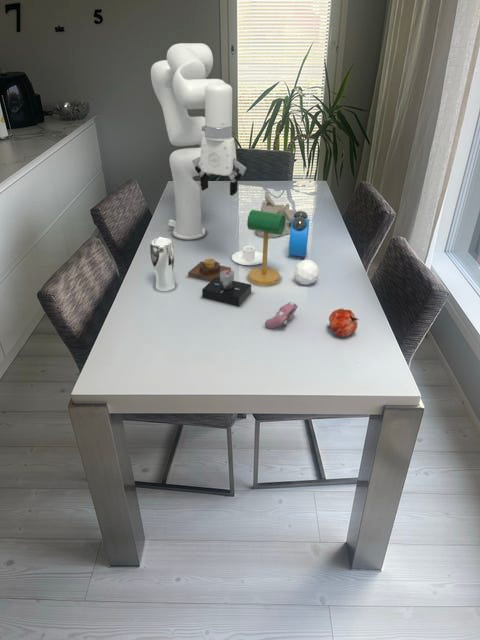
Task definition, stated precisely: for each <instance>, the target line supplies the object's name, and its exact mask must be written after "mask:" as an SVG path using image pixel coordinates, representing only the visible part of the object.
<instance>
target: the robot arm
mask: <svg viewBox="0 0 480 640" xmlns="http://www.w3.org/2000/svg"><path fill="white" fill-rule="evenodd" d="M213 65H214V56H213V52H212V49H211V48H210V47H209V46H208V45H207V44H205V43H201V42H197V43H196V42H194V43H193V42H192V43H190V42H187V43H186V42H180V43H175V44H173V45H171V46H170V47H169V48H168V50H167V52H166V59H162V60H158V61H156V62H154V63H153V64H152V65H151V68H150V81H151V85H152V89H153V91H154V93H155V94H154V95H155V96H156V98H157V100H158V102H159V104H160V106H161V110H162V113H163V119H164V122H165V123H164V124H165V128H166V132H167V137H168V140H169V142H170V144H171V145H172V146H175V147H187V148H180V149H176V150H174V151H172V153H170V155H169V159H168V160H169V167H170V172H171V176H172V177H171V178H172V182H173V183H172V184H173V194H174V209H175V219H169V220H168V227H169V228H170V227H171V228H173V230H172V235H173V236H174V237H175V238H177V239H179V240H184V241H185V240H186V241H191V240H198V239H201V238H203V237H205V235H206V232H207V231H206V229H205V228H204V227H203V226H202V206H201V205H202V204H201V191H205V190H206V189H208V188H209V175H216V176H222V177H228V178H229V179H230V182H229V195H230V196H234V195H236V194H237V192H238V185H239V184H238V181H239V180H240V179H241V178H242V177H243V176H244V174H245V172H246V171H247V167H246V166H245V165H244V164H242V163H241V162H240V161H238V159H237V149H236V142H235V138H234V137H233V87H232V86H231V85H230V84H229V83H226V82H225V81H224V80H222V79H220V78H207V77H208V76H209V75H210V74H211V71H212V69H213ZM202 109H203V110H204V116H202V115H201V116H200V115H198V116H190V114H189V113H188V110H202ZM191 146H199V147H191ZM188 147H189V148H188ZM237 169H238V170H239V171H238V173H237V172H236V171H237ZM198 176H199V178H200V186H199V184H198V183H197V181H196V180H194V177H198ZM200 187H201V188H200Z"/></svg>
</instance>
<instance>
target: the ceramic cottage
mask: <svg viewBox="0 0 480 640" xmlns="http://www.w3.org/2000/svg"><path fill="white" fill-rule="evenodd" d="M264 192H265V193H264V200H263V201H262V204H261V207H260V211H264V212H270V213H276V214H282V215H285V218H286V222H285V228H284V231H283V233H282V235H276V234H271V233H268V239H269V238H270V239H271V238H278V237H283V236H284V235H285V236H286V235H287V234H290V230H291V222H292V218H295V217H294V214H295V213H296V212H297V210H296V209H290V203H288V202H287V203H286V204H285V205H284V204H283V203H282V204H275V202H274V200H273V199H272V197H271V196H270V193H269V190H265V191H264ZM255 235H257V236H258V237H260V238H264V232H260V231H255Z"/></svg>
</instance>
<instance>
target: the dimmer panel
mask: <svg viewBox="0 0 480 640" xmlns="http://www.w3.org/2000/svg"><path fill="white" fill-rule="evenodd" d="M251 294H252V284H251V283H246V282H242V281H237V280H234V287H233V288H232V289H230V290H224V289H221V287H220V277H215V278H214V279H213V280H212V281H211V282H208V283H207V284H206V285H205V286H204V287H203V288H201V295H202V297H201V298H202V299H205V300H210V301H214V302H218V303H222V304H226V305H231V306H234V307H240V306H241V305H242V304H243V303H244V302H245V301H246V300H247V298H248V297H249V296H250V295H251Z"/></svg>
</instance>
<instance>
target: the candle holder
mask: <svg viewBox="0 0 480 640" xmlns="http://www.w3.org/2000/svg"><path fill="white" fill-rule="evenodd" d="M231 260H232V262H234V263H236V264H239V265H244V266H255V265H256V266H258V265H262V262H263V252H261V251H258V250H256V248H255V246H252V245H245V246H243V247H242V250H239V251H235V253H233V254H232V255H231Z"/></svg>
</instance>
